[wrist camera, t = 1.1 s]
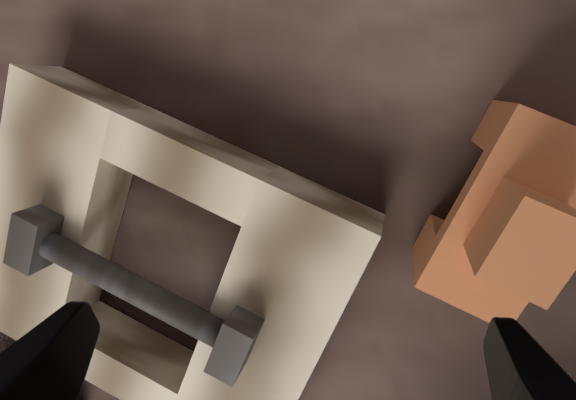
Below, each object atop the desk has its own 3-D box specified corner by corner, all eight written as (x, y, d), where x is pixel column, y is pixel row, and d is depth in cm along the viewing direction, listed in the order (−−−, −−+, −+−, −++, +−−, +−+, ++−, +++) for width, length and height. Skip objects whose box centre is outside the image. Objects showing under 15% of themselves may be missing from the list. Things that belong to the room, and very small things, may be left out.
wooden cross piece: (580, 135, 19) (689, 164, 12) (486, 281, 21) (528, 380, 14) (492, 99, 19) (545, 107, 12) (412, 247, 22) (416, 324, 15)
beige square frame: (384, 214, 22) (379, 251, 17) (275, 430, 27) (246, 508, 22) (62, 66, 25) (-25, 61, 20) (19, 290, 30) (-58, 330, 25)
